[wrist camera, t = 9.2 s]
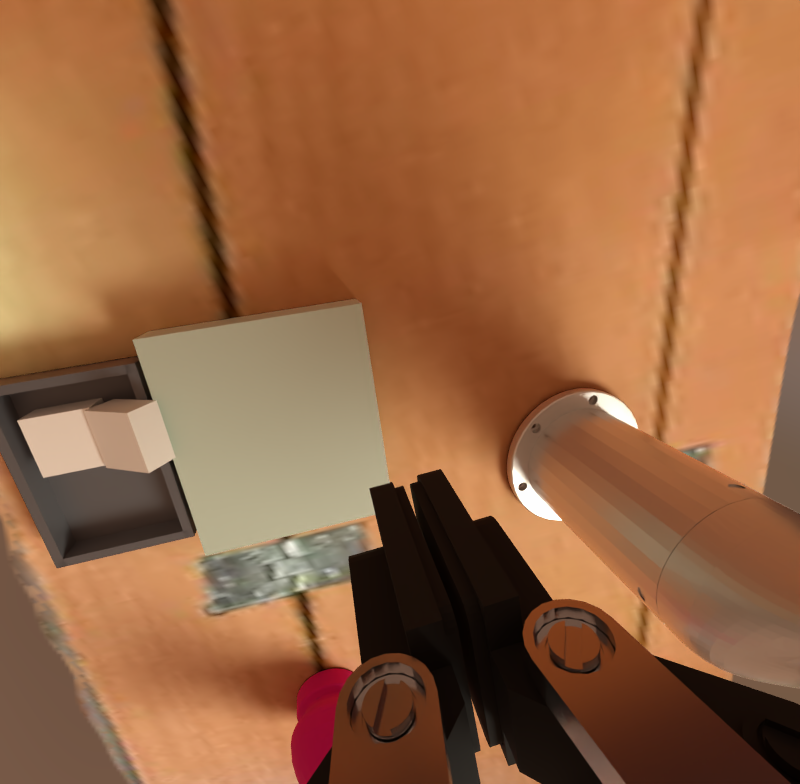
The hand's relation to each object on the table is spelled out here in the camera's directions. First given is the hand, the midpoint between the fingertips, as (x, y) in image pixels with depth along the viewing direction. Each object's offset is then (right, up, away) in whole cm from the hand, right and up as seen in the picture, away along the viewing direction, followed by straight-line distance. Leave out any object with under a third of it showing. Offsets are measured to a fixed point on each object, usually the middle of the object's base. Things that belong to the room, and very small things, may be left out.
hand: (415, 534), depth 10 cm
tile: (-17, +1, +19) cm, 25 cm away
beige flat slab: (-9, +1, +23) cm, 25 cm away
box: (-21, -1, +21) cm, 30 cm away
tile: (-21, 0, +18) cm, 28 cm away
